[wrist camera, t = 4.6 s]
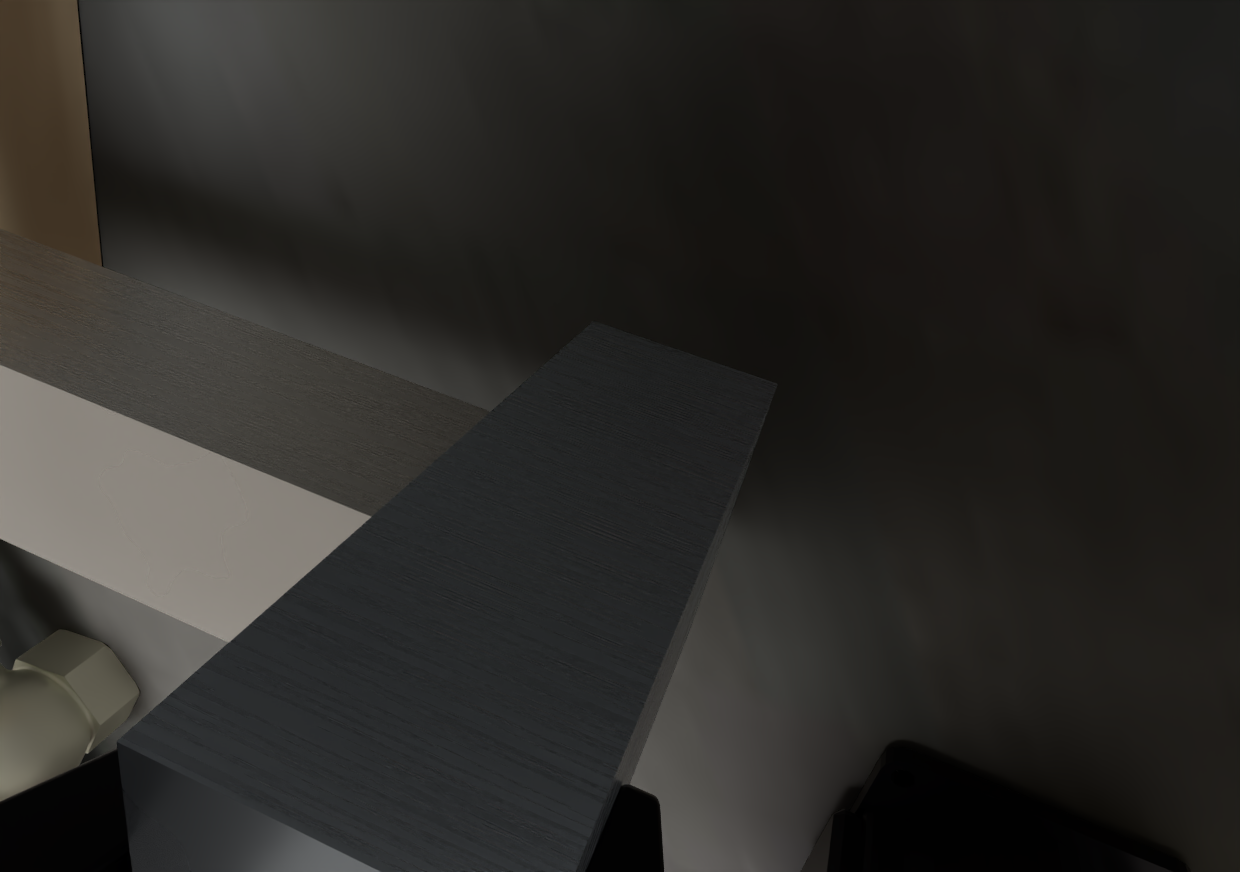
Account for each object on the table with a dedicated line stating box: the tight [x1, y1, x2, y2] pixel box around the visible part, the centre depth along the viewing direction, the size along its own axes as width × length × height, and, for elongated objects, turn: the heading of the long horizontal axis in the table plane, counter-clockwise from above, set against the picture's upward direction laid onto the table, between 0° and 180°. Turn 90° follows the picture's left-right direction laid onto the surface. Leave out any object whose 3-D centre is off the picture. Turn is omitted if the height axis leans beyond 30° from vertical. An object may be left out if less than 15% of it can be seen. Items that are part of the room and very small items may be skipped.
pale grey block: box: [0, 229, 777, 872], centre depth 11 cm, size 17×5×9 cm, turn 78°
